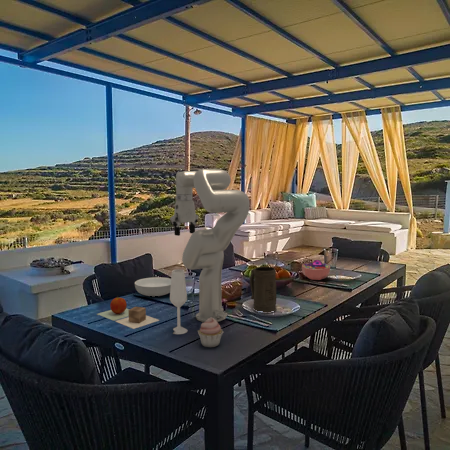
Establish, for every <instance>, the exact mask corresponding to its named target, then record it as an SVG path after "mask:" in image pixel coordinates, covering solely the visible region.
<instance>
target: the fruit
mask: <svg viewBox="0 0 450 450" xmlns="http://www.w3.org/2000/svg"><path fill="white" fill-rule="evenodd" d="M109 304H110V310H112V312H113V313H116V314H120V313H123V312H124V311H125V310H126V308H127V301H126V299H125V298H123V297H119V296H118V295H117V296H116V297H115V298H113V299H112V300H111V301H110V303H109Z"/></svg>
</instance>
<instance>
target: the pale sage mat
mask: <svg viewBox="0 0 450 450" xmlns="http://www.w3.org/2000/svg"><path fill="white" fill-rule="evenodd" d="M130 309H131V308H130ZM130 309H129V308H127V307H126V310H125V311H124V312H123V313H120V314H116V313H113V312H112V310H111V309H110V310H105V311H103V312H102V311H101V312H99V313H96V316H101V317H103V318H106V319H108V320H111V321H117V320H121V319H124V318H127V317H129V311H128V310H130Z"/></svg>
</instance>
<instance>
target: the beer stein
mask: <svg viewBox="0 0 450 450" xmlns="http://www.w3.org/2000/svg"><path fill="white" fill-rule="evenodd" d="M250 271H251V272H250V277H249V287H250V290H251V297H250V300H253V306H252V309H253V308H254V309H255V310H257V311H263V312H271V311H275V312H276V311H277V306H276V305H277V281H276V275H277V274H276V273H277V272H276V268H274V267H271V266H270V267H269V266H259V267H256V268H253V269H252V268H251V270H250Z"/></svg>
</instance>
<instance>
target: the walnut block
mask: <svg viewBox="0 0 450 450" xmlns="http://www.w3.org/2000/svg"><path fill="white" fill-rule="evenodd" d="M128 311H129V316H128V317H129V322H133V323H141V322H143V321H144V320H146V315H147V311H146V307H142V306H134V307H131V308H130V310H128Z"/></svg>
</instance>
